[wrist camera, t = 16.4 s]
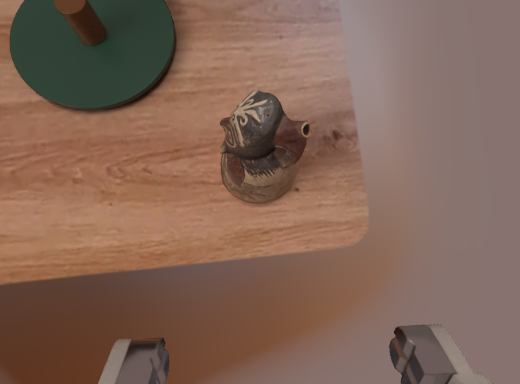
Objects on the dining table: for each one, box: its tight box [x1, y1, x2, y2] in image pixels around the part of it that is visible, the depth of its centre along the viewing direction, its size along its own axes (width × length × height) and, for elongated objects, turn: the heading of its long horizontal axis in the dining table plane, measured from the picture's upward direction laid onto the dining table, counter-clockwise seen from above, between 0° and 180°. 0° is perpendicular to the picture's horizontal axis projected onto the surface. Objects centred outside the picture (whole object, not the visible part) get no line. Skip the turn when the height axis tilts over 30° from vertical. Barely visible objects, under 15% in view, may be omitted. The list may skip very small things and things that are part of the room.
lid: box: [10, 0, 175, 111], centre depth 27 cm, size 16×16×5 cm
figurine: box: [220, 90, 311, 203], centre depth 23 cm, size 7×7×12 cm
